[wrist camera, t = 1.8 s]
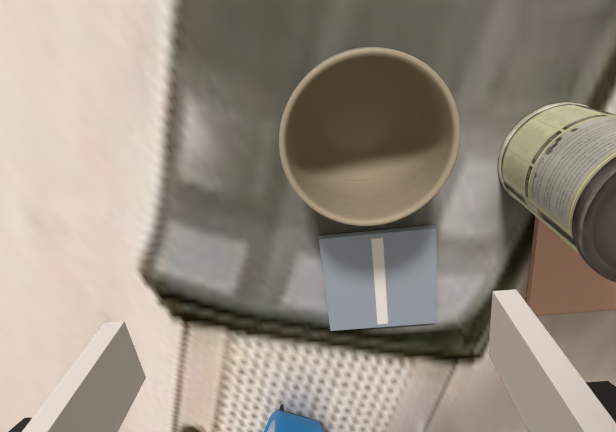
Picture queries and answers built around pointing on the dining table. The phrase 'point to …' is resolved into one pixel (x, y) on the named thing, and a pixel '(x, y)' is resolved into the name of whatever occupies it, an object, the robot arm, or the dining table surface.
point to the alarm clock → (291, 423)
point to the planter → (369, 136)
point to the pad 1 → (380, 277)
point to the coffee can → (567, 177)
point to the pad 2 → (564, 278)
